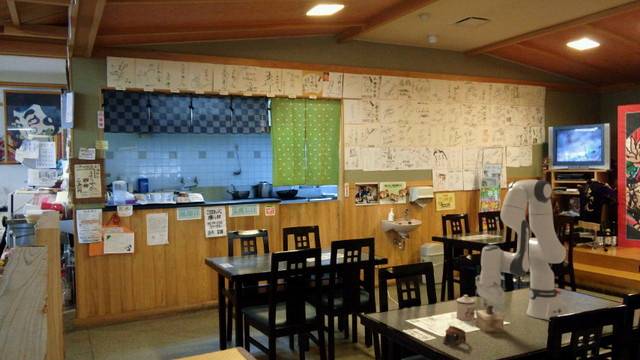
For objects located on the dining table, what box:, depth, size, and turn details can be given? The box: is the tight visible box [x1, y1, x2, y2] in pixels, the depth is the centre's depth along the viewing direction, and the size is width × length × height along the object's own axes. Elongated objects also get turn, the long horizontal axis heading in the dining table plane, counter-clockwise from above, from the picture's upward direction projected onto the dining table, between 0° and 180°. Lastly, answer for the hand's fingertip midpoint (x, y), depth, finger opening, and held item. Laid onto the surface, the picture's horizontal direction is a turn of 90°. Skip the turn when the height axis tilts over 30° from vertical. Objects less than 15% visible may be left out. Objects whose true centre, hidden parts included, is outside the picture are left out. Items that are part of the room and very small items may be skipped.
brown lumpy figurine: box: [442, 325, 467, 347], centre depth 214 cm, size 12×10×8 cm
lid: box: [475, 305, 506, 320], centre depth 234 cm, size 10×10×5 cm
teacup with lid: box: [456, 294, 477, 322], centre depth 252 cm, size 12×9×12 cm
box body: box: [475, 314, 505, 334], centre depth 234 cm, size 9×9×6 cm
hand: (490, 309), depth 234 cm, fingers open, 8 cm apart
